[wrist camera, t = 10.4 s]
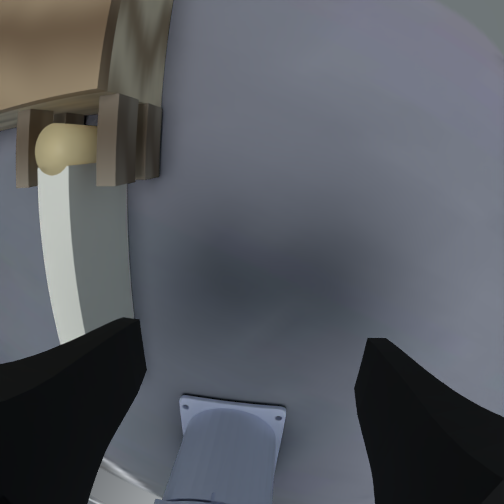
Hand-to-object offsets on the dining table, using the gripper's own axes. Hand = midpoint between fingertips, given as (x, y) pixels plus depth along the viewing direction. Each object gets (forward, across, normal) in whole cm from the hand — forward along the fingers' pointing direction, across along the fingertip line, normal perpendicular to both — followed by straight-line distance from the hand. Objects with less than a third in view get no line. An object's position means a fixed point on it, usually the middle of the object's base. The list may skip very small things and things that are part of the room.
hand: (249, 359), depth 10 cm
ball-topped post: (+10, +10, +2) cm, 14 cm away
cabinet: (+10, +14, -11) cm, 20 cm away
